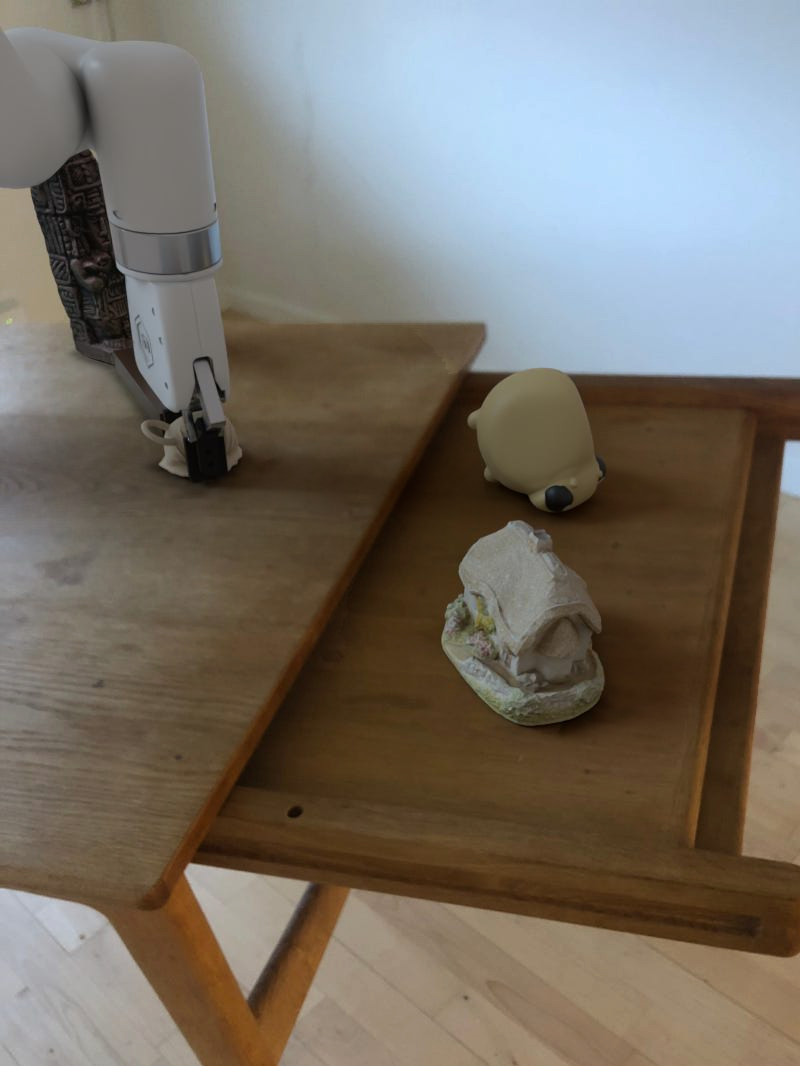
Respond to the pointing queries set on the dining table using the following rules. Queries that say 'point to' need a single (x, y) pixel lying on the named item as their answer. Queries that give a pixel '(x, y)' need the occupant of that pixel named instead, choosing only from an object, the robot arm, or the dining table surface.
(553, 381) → the toy pig
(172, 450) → the decorative ornament
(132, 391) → the walnut stick
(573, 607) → the ceramic model
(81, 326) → the statue
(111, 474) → the dining table surface
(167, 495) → the dining table surface
